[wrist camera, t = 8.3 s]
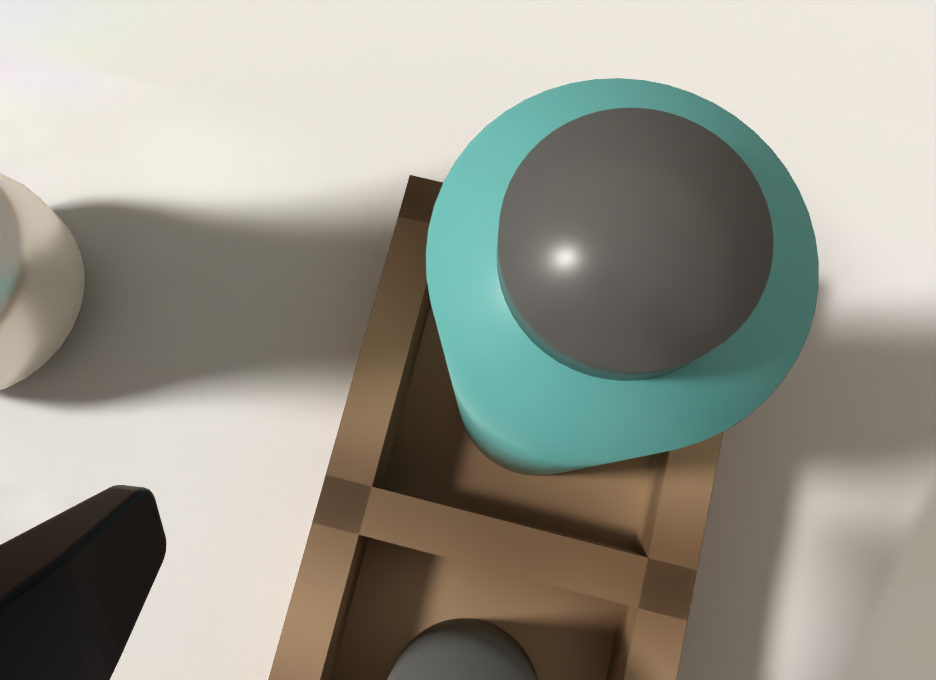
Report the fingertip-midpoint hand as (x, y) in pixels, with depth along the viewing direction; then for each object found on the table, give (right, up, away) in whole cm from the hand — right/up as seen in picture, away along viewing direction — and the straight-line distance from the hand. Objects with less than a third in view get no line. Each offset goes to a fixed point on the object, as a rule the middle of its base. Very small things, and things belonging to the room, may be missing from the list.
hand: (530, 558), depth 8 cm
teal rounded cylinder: (+1, +1, +13) cm, 13 cm away
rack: (0, -3, +13) cm, 14 cm away
